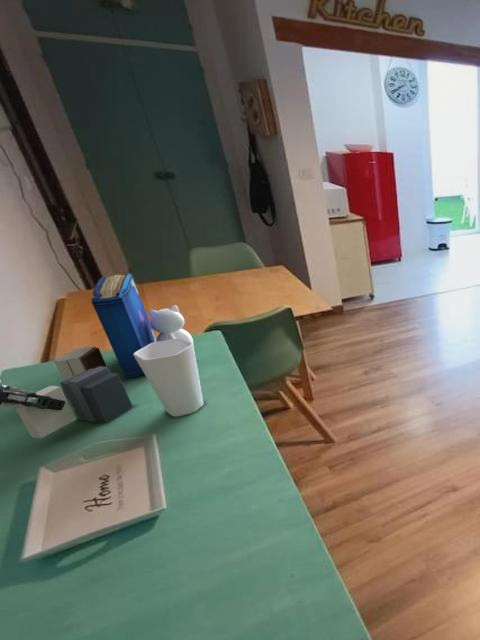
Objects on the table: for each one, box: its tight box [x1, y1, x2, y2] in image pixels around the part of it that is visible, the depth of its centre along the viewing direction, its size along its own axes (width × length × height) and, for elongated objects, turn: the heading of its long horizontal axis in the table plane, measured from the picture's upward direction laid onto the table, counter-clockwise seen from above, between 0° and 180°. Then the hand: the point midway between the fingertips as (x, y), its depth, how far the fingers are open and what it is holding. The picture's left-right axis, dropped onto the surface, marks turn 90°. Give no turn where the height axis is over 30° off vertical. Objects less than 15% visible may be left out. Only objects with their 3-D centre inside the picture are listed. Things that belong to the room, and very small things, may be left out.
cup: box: [133, 338, 204, 417], centre depth 102 cm, size 11×10×17 cm
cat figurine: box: [148, 304, 194, 344], centre depth 128 cm, size 9×12×15 cm
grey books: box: [60, 366, 134, 424], centre depth 101 cm, size 8×7×11 cm
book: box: [90, 272, 157, 378], centre depth 120 cm, size 22×7×25 cm, turn 34°
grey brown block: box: [54, 346, 108, 381], centre depth 113 cm, size 6×7×9 cm
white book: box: [13, 385, 77, 439], centre depth 91 cm, size 2×7×9 cm, turn 171°
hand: (56, 404), depth 93 cm, fingers closed on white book, 2 cm apart
